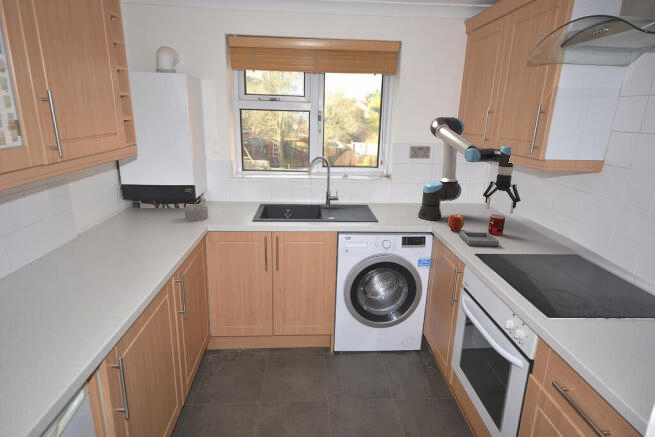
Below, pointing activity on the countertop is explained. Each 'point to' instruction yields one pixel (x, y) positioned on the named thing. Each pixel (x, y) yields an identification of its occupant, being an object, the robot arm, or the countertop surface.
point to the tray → (478, 239)
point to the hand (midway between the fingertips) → (499, 211)
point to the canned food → (496, 224)
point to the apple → (456, 222)
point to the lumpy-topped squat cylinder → (196, 213)
